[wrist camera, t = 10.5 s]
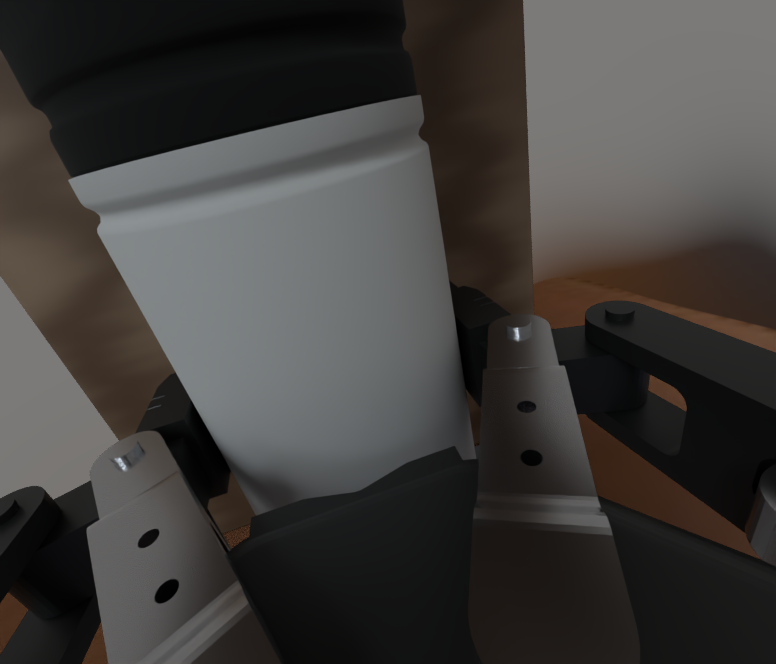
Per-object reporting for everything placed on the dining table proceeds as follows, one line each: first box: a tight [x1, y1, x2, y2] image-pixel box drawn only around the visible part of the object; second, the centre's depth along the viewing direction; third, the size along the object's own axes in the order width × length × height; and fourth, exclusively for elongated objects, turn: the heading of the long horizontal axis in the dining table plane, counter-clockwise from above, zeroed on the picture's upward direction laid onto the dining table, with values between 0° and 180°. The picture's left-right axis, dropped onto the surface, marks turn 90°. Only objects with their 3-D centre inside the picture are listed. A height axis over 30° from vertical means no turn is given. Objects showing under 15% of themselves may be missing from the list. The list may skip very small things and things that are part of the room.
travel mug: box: [0, 0, 476, 516], centre depth 11 cm, size 6×7×20 cm
